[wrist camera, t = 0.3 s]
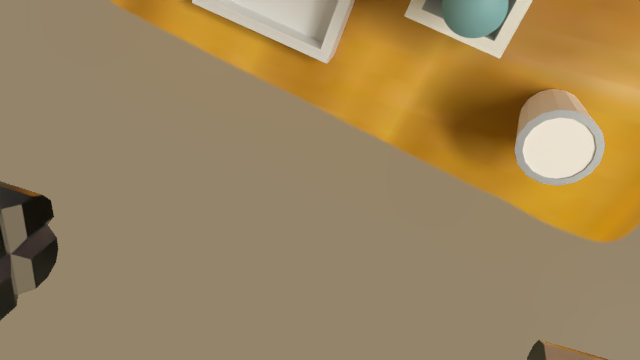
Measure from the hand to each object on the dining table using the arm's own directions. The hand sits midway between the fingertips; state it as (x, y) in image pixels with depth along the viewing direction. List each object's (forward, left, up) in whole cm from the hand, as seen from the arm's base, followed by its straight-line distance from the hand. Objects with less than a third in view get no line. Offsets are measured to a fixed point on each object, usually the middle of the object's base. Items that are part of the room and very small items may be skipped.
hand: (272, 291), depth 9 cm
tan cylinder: (+9, +15, -45) cm, 48 cm away
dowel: (0, +3, -44) cm, 44 cm away
